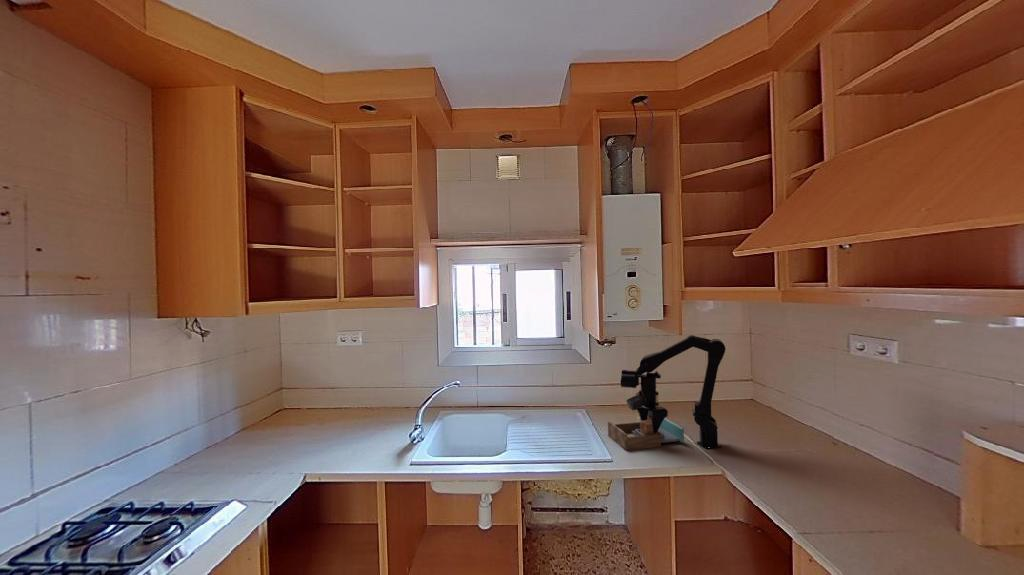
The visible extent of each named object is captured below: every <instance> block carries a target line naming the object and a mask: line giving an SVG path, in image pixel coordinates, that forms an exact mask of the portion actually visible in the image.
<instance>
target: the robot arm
mask: <svg viewBox="0 0 1024 575" xmlns="http://www.w3.org/2000/svg"><path fill="white" fill-rule="evenodd" d="M691 348H695V349H698V350H701V351H703V352H704V351H705V352H707V354H706V355H707V364H706V369H705V374H704V379H703V383H702V384H703V385H702V389H701V393H700V397H699V400H698V401H694V405H693V406H694V407H693V409H692V416H693V418H694V422H695V423H696V425H697V426H699V441H696V442H697V443H698V444H697V443H696V444H697V445H699V444H700V445H699V446H701V445H702V446H704V447H706V448H708V447H718V448H722V447H721V446H722V445H721V444H719V441H718V438H719V437H718V429H719V427H718V423H717V420H716V419H715V418H714V417H713V416H712V400H713V394H714V389H715V384H716V379H717V374H718V370H719V366H720V364H721V363H722V360H723V358H724V356H725V353H726V346H725V343H724V342H723V341H722V340H721V339H718V338H712V339H709V338H705V337H699V336H697V335H694V334H690V335H688V336H687V337H686V338H683V339H682V340H680V341H677V342H676V343H674V344H672V345H670V346H668V347H667V348H665V349H663V350H661V351H658V352H652V353H649V354H646V355H644V356H643V357H642V358H641V360H640V362H639V367H637V368H636V370H629V369H628V370H627V369H622V370H621V376H620V387H621V388H626V389H627V388H629V389H637V386H640V390H638V391H639V392H638V395H637V396H636V395H634V396H632V397H629V398H628V399H626V404H627V407H628V409H630V410H632V411H636V412H637V411H638V413H639V416H640V419H641V421H644V420H647V417H648V413H649V417H650V418H651V419H652V426H653V432H654V433H657V431H658V429H659V428H660V425H661V423H662V421H663V420H664V418H666V419H667V417H669V411H668V409H666V408H665V407H662V406H660V404H659V403H660V402H659V401H658V402H656V395H658V396H659V391H658V392H657V391H656V390H657V379H661V378H662V375H661V374H660V373H659V372H658V370H657V369H658V368H659V367H660V366H661V365H662V364H663V363H665V362H666V361H669V360H670V359H672V358H674V357H676V356H678V355H680V354H682V353H684V352H686V351H688V350H690V349H691ZM645 373H646V374H645ZM656 406H658V407H656ZM702 446H701V447H702ZM704 447H703V448H704ZM706 448H705V449H706ZM708 449H709V448H708Z"/></svg>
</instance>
